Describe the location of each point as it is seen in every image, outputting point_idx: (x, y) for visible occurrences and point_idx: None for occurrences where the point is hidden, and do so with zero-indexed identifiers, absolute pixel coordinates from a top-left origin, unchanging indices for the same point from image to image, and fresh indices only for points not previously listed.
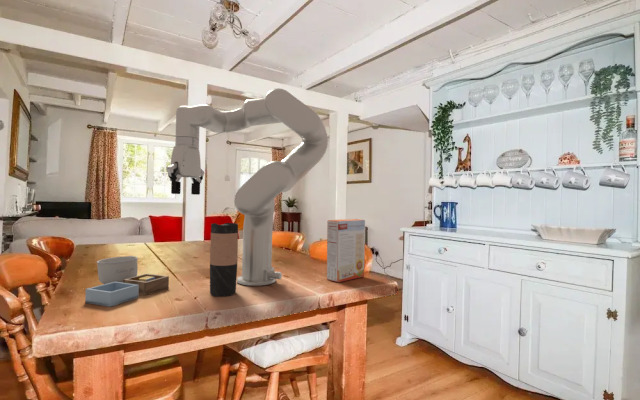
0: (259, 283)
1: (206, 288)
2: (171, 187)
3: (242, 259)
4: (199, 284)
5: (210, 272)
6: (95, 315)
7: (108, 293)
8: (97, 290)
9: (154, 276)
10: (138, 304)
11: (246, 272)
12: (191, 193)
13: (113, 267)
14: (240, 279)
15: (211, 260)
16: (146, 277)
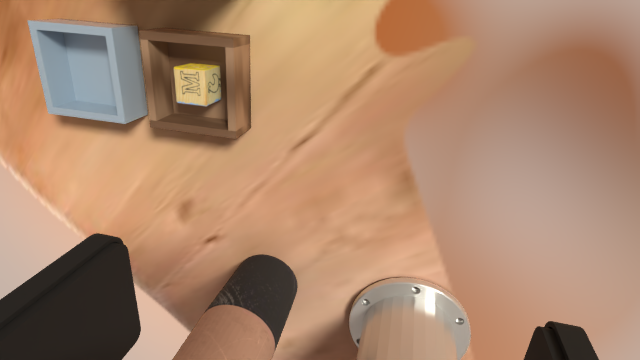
0: (358, 345)
1: (289, 227)
2: (27, 283)
3: (378, 344)
4: (320, 190)
5: (217, 296)
6: (35, 119)
7: (49, 105)
8: (38, 65)
9: (228, 83)
10: (117, 150)
11: (362, 332)
12: (538, 331)
13: None
14: (372, 297)
15: (196, 324)
16: (189, 84)
